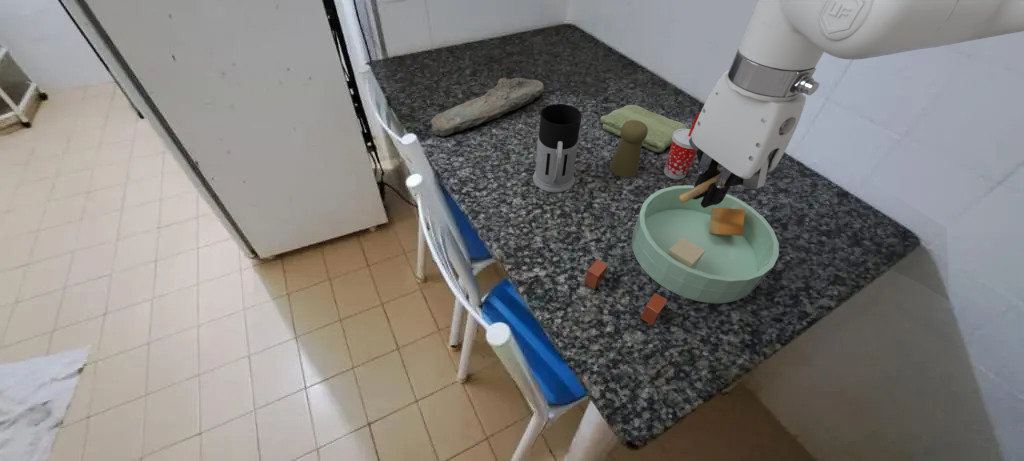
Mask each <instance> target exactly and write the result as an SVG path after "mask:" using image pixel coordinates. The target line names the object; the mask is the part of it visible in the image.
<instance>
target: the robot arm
mask: <svg viewBox="0 0 1024 461" xmlns="http://www.w3.org/2000/svg"><path fill="white" fill-rule="evenodd" d="M1021 32H1024V0H758V1H757V3H756V5H755V8H754V11H753V12H752V14H751V17H750V19H749V22H748V24H747V27H746V29H745V32H744V34H743V36H742V38H741V41H740V44H739V46H738V48H737V51H736V53H735V55H734V58H733V60H732V62H731V64H730V67H729V69H728V70H726V71H724V72H723V74H722V75H721V76H720V77H719V79H718V81H716V83H715V85H714V87H713V88H712V90H711V92H710V93H709V95H708V97H707V99H706V101H705V102H704V105H703V106H702V108H701V111H700V112H699V116H698V119H697V121H696V124H695V126H694V129H693V133H692V137H691V138H690V139H689V143H690V145H691V146H692V148H693V149H694V150H695V152H697V155H696V157H697V160H698V166H697V173H698V174H699V175H698V177H697V180H696V182H695V184H694V185H693V186H694V187H696V186H698V185H700V184H702V183H703V182H705V181H707V180H709V179H711V178H713V177H715V176H717V175H719V174H720V175H719V177H718V179H717V180H716V182H714V183H711V184H710V185H709V187H708V190H707V191H706V192H704V193H702V194H700V195H698V196H696V197H694V198H693V199H695V200H696V199H699V198H702V197H703V200H702V202H701V206H702V207H703V208H706V207H708V206H711V205H717V204H719V203H721V202H722V201H723V199H724V197H725V195H726V194H728V191H729V190H730V189H731V187H735V186H741V187H743V188H745V189H747V190H748V189H749V190H751V191H757V190H759V189H762V188H764V187H765V183H766V178H767V174H768V173H770V172H772V171H773V170H774V169H775V168H776V167H777V166H778V165H779V163H780V161H781V159H782V158H783V156H784V154H785V152H786V150H787V148H788V146H789V143H790V142H791V140H792V138H793V136H794V134H795V132H796V130H797V127H798V125H799V122H800V119H801V117H802V113H803V111H804V108H805V105H806V100H807V96H811V95H814V93H815V92H816V91H817V90H818V89H819V87H820V82H819V81H816V80H815V79H814V78H813V76H814V74H815V72H816V70H817V68H816V66H817V65H818V63H819V61H820V59H821V58H822V57H823V55H824V53H825V54H828V55H830V56H832V57H835V58H837V59H843V60H852V61H853V60H866V59H872V58H878V57H883V56H888V55H889V56H890V55H894V54H901V53H905V52H911V51H919V50H926V49H932V48H939V47H946V46H950V45H955V44H961V43H966V42H972V41H977V40H982V39H987V38H992V37H998V36H1004V35H1010V34H1015V33H1021ZM806 95H807V96H806ZM721 166H722V167H723V168H722V170H721V171H720V170H719V169H720V167H721Z"/></svg>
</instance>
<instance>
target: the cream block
mask: <svg viewBox="0 0 1024 461" xmlns="http://www.w3.org/2000/svg"><path fill="white" fill-rule="evenodd" d="M704 252H705V250H703V249H702V248H700V247H698V246H697V245H695V244H693V243H691V242H690V241H688V240H686V239H685V238H683V237H682V238H681V239H680V240H679V241H678V242H677V243H676V244H675V245H674V246H673V247H672V248H671V249H670V250H669V252H668V255H669V256H670V257H672V258H673V259H674V260H676V261H678V262H680V263H682V264H684V265H685V266H687V267H689V268H692V269H695V268H696V266H697V264H698V262H699V261H700V259H701V257H702V255H703V254H704Z"/></svg>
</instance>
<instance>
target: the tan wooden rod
mask: <svg viewBox="0 0 1024 461" xmlns="http://www.w3.org/2000/svg"><path fill="white" fill-rule="evenodd" d="M719 175H720V174H719ZM719 175H717V176H715V177H713V178H711V179H709V180H707V181H705V182H703V183H702V184H700V185H698V186H696V187H694V188H692V189H690V190H688V191H686V192H685V193H683V194H681V195H680V196H679V198H678V199H679V201H680V202H682V203H685V202H687V201H689V200H691V199H692V198H694V197H696V196H698V195H700V194H702V193H704V192H706V191H707V190H708V187H709V185H710V184H711V183H714V182H716V180H717V179H718V177H719Z"/></svg>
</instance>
